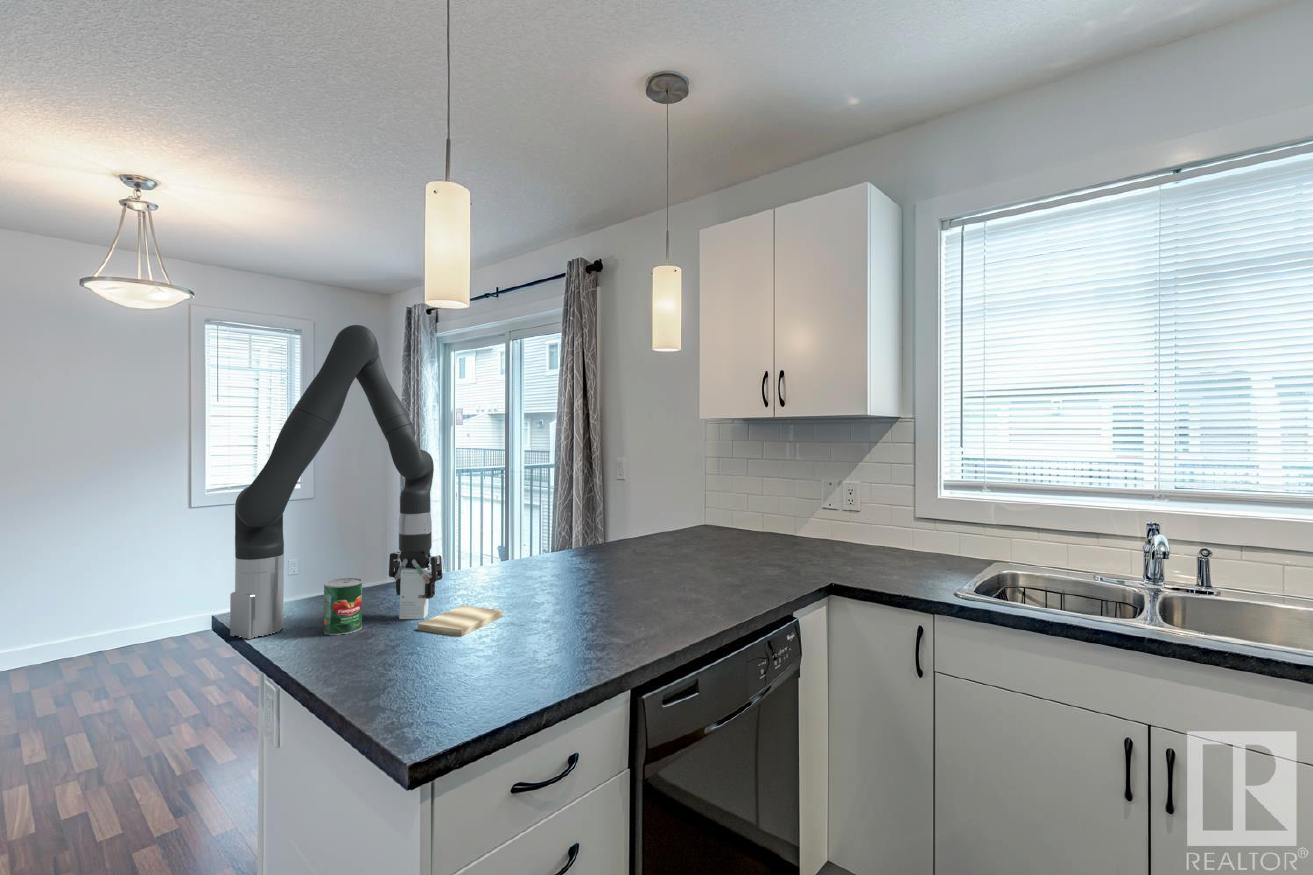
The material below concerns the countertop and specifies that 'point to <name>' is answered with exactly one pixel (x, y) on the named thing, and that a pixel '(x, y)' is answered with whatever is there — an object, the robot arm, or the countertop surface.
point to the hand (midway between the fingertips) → (415, 596)
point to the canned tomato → (342, 606)
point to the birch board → (460, 620)
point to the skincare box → (412, 595)
